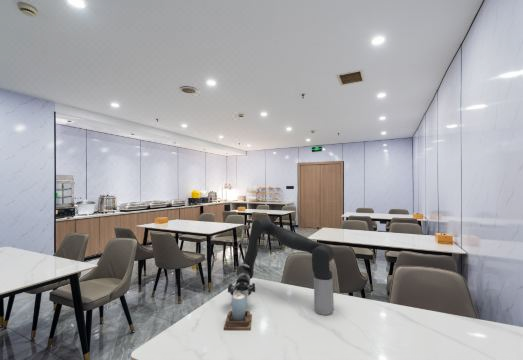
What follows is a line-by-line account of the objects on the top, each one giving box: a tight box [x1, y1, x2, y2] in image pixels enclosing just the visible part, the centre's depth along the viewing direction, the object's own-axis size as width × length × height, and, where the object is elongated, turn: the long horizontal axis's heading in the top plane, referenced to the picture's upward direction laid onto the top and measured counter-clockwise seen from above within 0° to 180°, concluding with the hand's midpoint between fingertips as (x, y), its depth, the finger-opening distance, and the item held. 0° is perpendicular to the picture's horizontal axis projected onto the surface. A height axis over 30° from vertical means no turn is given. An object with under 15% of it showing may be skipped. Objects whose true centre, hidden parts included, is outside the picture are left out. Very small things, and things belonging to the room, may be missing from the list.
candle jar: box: [231, 291, 247, 321], centre depth 115 cm, size 6×6×13 cm
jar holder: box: [223, 310, 253, 331], centre depth 115 cm, size 12×12×3 cm
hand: (240, 293), depth 123 cm, fingers open, 8 cm apart
